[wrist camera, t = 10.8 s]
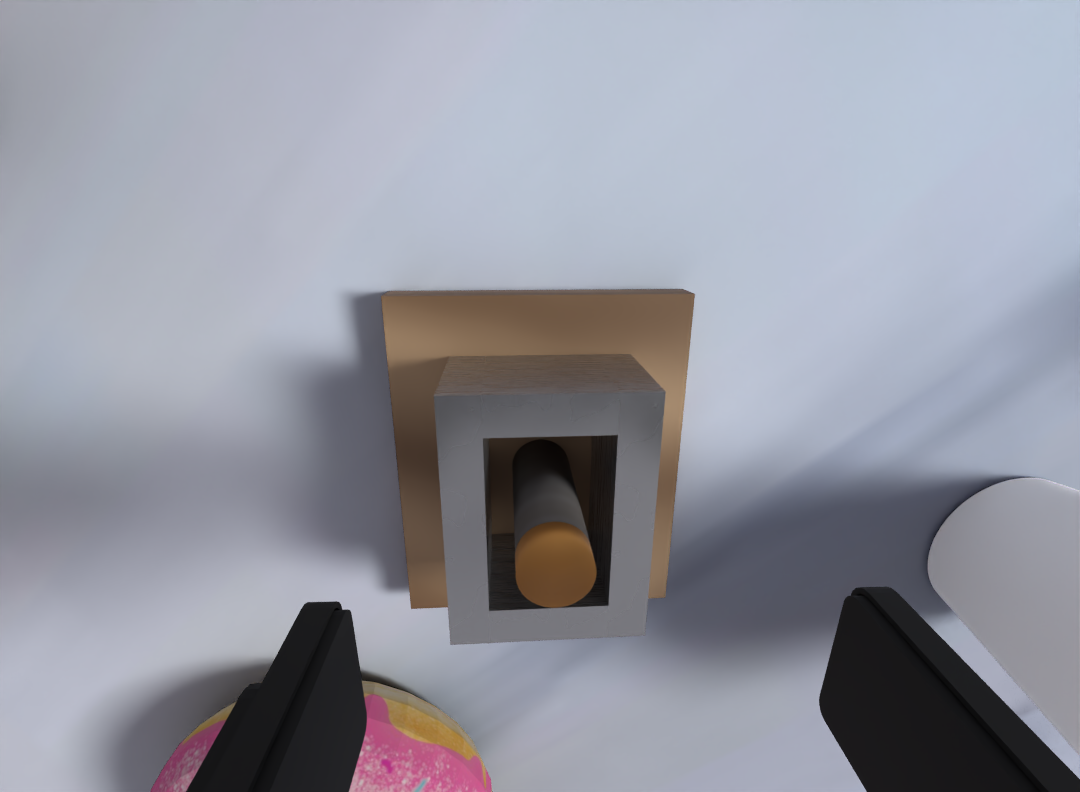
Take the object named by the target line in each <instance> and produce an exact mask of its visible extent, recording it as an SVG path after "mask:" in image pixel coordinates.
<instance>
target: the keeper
mask: <svg viewBox="0 0 1080 792" xmlns="http://www.w3.org/2000/svg"><path fill="white" fill-rule="evenodd" d="M694 297H695V294H694V293H691V292H689V291H686V290H684V289H625V290H478V291H388V292H387V293H385V294H384V295H382V296H381V301H382V312H383V322H384V332H385V343H386V353H387V363H388V374H389V384H390V394H391V405H392V415H393V425H394V436H395V446H396V456H397V467H398V477H399V487H400V498H401V508H402V518H403V529H404V539H405V549H406V560H407V570H408V580H409V591H410V601H411V609H417V608H440V607H448V599H447V584H446V570H445V555H444V540H443V525H442V510H441V496H440V481H439V466H438V451H437V436H436V422H435V407H434V394H435V392H436V389H437V387H438V384H439V382H440V379H441V376H442V374H443V371H444V369H445V366H446V364H447V361H448V359H449V356H512V355H584V354H631V355H632V356H633V357H634V358H635V359H636V360H637V361H638V362H639V363H640V364H641V366H642V367H643V368H644V369H645V370H646V371H647V372H648V373H649V374H650V375H651V376H652V377H653V379H654V380H655V381H656V382H657V383H658V384H659V385H660V386H661V387H662V388H663V389H664V390H665V391H666V394H665V406H664V418H663V430H662V441H661V453H660V465H659V477H658V488H657V500H656V512H655V523H654V535H653V547H652V559H651V570H650V582H649V594H648V598H665V594H666V584H667V574H668V564H669V553H670V543H671V533H672V522H673V512H674V502H675V492H676V481H677V471H678V461H679V451H680V440H681V430H682V420H683V410H684V399H685V389H686V379H687V368H688V358H689V348H690V338H691V327H692V317H693V307H694ZM591 448H592V436H559V437H517V438H489V455H490V486H491V517H492V534H505V533H514V536H515V568H516V582H517V585H518V588H519V590H520V591H521V593H522V594H523V595H524V596H525V597H526V598H527V599H528V600H529V601H531V602H533V603H535V604H537V605H540V606H543V607H550V608H558V607H564V606H568V605H571V604H573V603H576V602H577V601H579V600H581V599H582V598H583V597H584V596H585V595H587V594H588V592H589V591H590V590H591V588H592V587H593V585H594V582H595V579H596V564H595V560H594V557H593V553H592V549H591V545H590V541H589V538H588V534H587V531H588V528H589V501H590V475H591Z"/></svg>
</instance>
